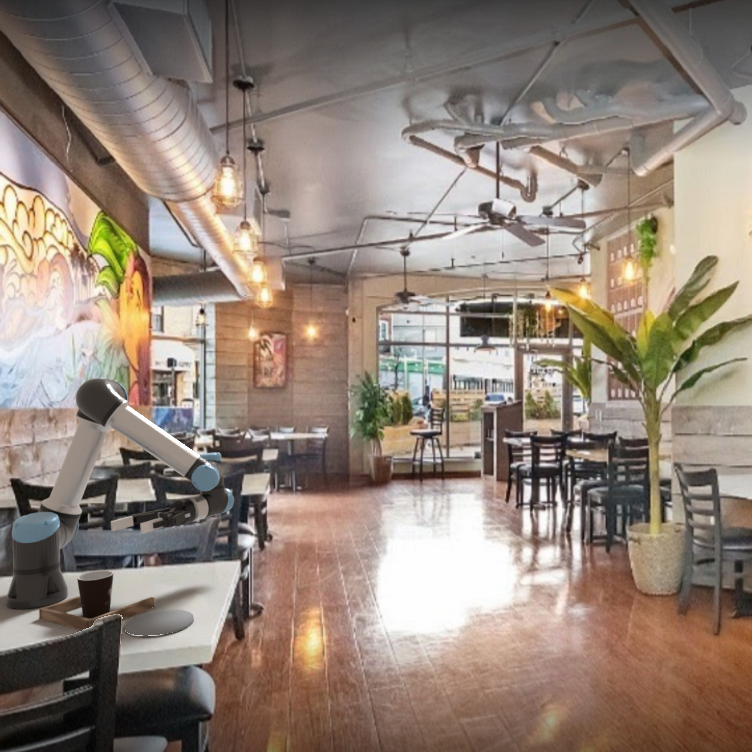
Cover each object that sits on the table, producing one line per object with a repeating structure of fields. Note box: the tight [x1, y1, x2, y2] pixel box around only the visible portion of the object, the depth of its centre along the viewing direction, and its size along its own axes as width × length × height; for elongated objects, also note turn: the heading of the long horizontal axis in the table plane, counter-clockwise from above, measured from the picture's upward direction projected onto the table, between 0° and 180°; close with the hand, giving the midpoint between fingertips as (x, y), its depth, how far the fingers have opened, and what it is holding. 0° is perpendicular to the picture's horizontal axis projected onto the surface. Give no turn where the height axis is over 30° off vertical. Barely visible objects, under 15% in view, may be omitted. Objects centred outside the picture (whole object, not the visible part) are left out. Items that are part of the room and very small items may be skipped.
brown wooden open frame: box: [38, 595, 156, 631], centre depth 166 cm, size 19×20×2 cm
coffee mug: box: [76, 570, 114, 619], centre depth 166 cm, size 12×9×10 cm
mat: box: [123, 609, 195, 636], centre depth 156 cm, size 16×16×1 cm
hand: (126, 527), depth 174 cm, fingers open, 13 cm apart
